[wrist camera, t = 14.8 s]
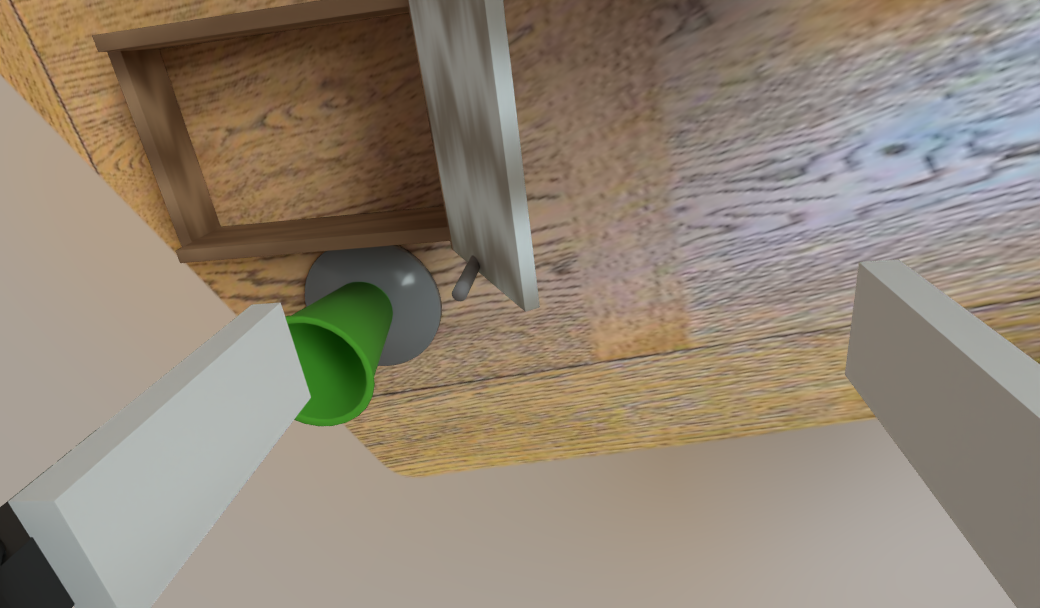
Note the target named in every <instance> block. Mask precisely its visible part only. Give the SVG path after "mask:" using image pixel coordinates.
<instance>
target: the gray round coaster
mask: <svg viewBox="0 0 1040 608" xmlns="http://www.w3.org/2000/svg"><path fill="white" fill-rule="evenodd" d="M351 282H367V283H370V284H373V285H375V286H377V287H378V288H380V289H381V290H382V291H383V292H384V293H385V294H386V295H387V296H388V298H389V300H390V302H391V305H392V308H393V318H392V323H391V326H390V329H389V332H388V335H387V338H386V341H385V344H384V347H383V350H382V354H381V357H380V360H379V363H378V366H389V365H396V364H401V363H404V362H407V361H409V360H411V359H413V358H415V357H417V356H418V355H419V354H421V353H422V352H423V351H424V350H425V349H426V348H427V347H428V346H429V344H430V343H431V342H432V340H433V338H434V336H435V334H436V332H437V330H438V328H439V325H440V321H441V315H442V304H441V297H440V293H439V290H438V287H437V285H436V282H435V280H434V279H433V277H432V275H431V274H430V272H429V271H428V269H427V268H426V267H425V266H424V265H423V264H422V262H421V261H420V260H419V259H418V258H416V257H415V256H414V255H413V254H412V253H410V252H409V251H407V250H406V249H404V248H402V247H400V246H398V245H391V246H379V247H367V248H355V249H343V250H331V251H325V252H324V253H323V254H322V255H321V256H320V257H319V258H318V259H317V260H316V261H315V263H314V264H313V265H312V267H311V269H310V271H309V273H308V276H307V279H306V284H305V303H306V307H307V306H309V305H311V304H312V303H314V302H316V301H318V300H319V299H321V298H323V297H325V296H326V295H328V294H330V293H332V292H333V291H335V290H337V289H339V288H340V287H342V286H344V285H346V284H348V283H351Z"/></svg>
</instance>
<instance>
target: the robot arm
mask: <svg viewBox="0 0 1040 608" xmlns="http://www.w3.org/2000/svg"><path fill="white" fill-rule="evenodd" d="M845 375H846V377H847V378H848V379H849V381H850V382H851V383H852V385H853V386H854V388H855V389H856V390H857V392H858V393H859V394H860V396H861V397H862V398H863V400H864V401H865V402H866V404H867V405H868V406H869V408H870V409H871V411H872V412H873V413H874V415H875V416H876V417H877V419H878V420H879V421H880V423H881V424H882V425H883V427H884V428H885V429H886V431H887V432H888V433H889V435H890V436H891V438H892V439H893V440H894V442H895V443H896V444H897V446H898V447H899V448H900V450H901V451H902V452H903V454H904V455H905V457H906V458H907V459H908V461H909V462H910V463H911V465H912V466H913V467H914V469H915V470H916V472H917V473H918V474H919V476H920V477H921V478H922V479H923V481H924V482H925V484H926V485H927V486H928V488H929V489H930V491H931V492H932V493H933V494H934V496H935V497H936V499H937V500H938V501H939V503H940V504H941V505H942V507H943V508H944V509H945V511H946V512H947V513H948V515H949V516H950V518H951V519H952V520H953V522H954V523H955V524H956V526H957V527H958V528H959V530H960V531H961V533H962V534H963V535H964V537H965V538H966V539H967V541H968V542H969V543H970V545H971V546H972V547H973V549H974V550H975V551H976V553H977V554H978V556H979V557H980V558H981V560H982V561H983V562H984V564H985V565H986V566H987V568H988V569H989V570H990V572H991V573H992V575H993V576H994V577H995V579H996V580H997V581H998V583H999V584H1000V585H1001V586H1002V588H1003V589H1004V591H1005V592H1006V593H1007V595H1008V596H1009V598H1010V599H1011V600H1012V602H1013V603H1014V604H1015V606H1016V607H1017V608H1040V364H1039V363H1037V362H1036V361H1035V360H1033V359H1032V358H1030V357H1029V356H1028V355H1026V354H1025V353H1024V352H1022V351H1021V350H1020V349H1018V348H1017V347H1016V346H1014V345H1013V344H1012V343H1010V342H1009V341H1008V340H1006V339H1005V338H1004V337H1002V336H1001V335H1000V334H998V333H997V332H996V331H994V330H993V329H992V328H990V327H989V326H987V325H986V324H985V323H983V322H982V321H981V320H979V319H978V318H977V317H975V316H974V315H973V314H971V313H970V312H969V311H967V310H966V309H965V308H963V307H962V306H961V305H959V304H958V303H957V302H955V301H954V300H953V299H951V298H950V297H949V296H947V295H946V294H944V293H943V292H942V291H940V290H939V289H938V288H936V287H935V286H934V285H932V284H931V283H930V282H928V281H927V280H926V279H924V278H923V277H922V276H920V275H919V274H918V273H916V272H915V271H914V270H912V269H911V268H910V267H908V266H907V265H906V264H904V263H903V262H901V261H900V260H885V261H870V262H859V268H858V275H857V283H856V291H855V299H854V307H853V315H852V323H851V331H850V338H849V346H848V354H847V362H846V370H845ZM310 398H311V396H310V393H309V389H308V386H307V383H306V380H305V377H304V374H303V371H302V368H301V365H300V362H299V358H298V355H297V352H296V349H295V346H294V343H293V340H292V337H291V334H290V330H289V327H288V324H287V321H286V318H285V315H284V312H283V309H282V306H281V303H268V304H254V305H251V306H249V307H248V308H247V309H246V310H244V311H243V312H242V313H241V314H240V315H238V316H237V317H236V318H235V319H233V320H232V321H231V322H230V323H229V324H227V325H226V326H225V327H223V328H222V329H221V330H220V331H219V332H217V333H216V334H215V335H214V336H212V337H211V338H210V339H209V340H207V341H206V342H205V343H204V344H203V345H201V346H200V347H199V348H197V349H196V350H195V351H194V352H193V353H191V354H190V355H189V356H188V357H186V358H185V359H184V360H183V361H181V362H180V363H179V364H178V365H176V366H175V367H174V368H173V369H171V370H170V371H169V372H168V373H167V374H165V375H164V376H163V377H162V378H160V379H159V380H158V381H157V382H156V383H154V384H153V385H152V386H151V387H150V388H148V389H147V390H146V391H144V392H143V393H142V394H141V395H139V396H138V397H137V398H136V399H134V400H133V401H132V402H131V403H130V404H128V405H127V406H126V407H124V408H123V409H122V410H121V411H120V412H118V413H117V414H116V415H115V416H113V417H112V418H111V419H110V420H108V421H107V422H106V423H105V424H103V425H102V426H101V427H99V428H98V429H97V430H95V431H94V432H93V433H92V434H90V435H89V436H88V437H87V438H86V439H84V440H83V441H82V442H81V443H79V444H78V445H77V446H76V447H75V448H74V449H73V450H71V451H69V452H68V453H67V454H66V455H64V456H63V457H62V458H61V459H59V460H58V461H57V462H56V463H55V464H54V465H52V466H51V467H50V468H48V469H47V470H46V471H45V472H43V473H42V474H41V475H40V476H38V477H37V478H36V479H35V480H34V481H32V482H31V483H30V484H29V485H27V486H26V487H25V488H24V489H22V490H21V491H20V492H19V493H17V494H16V495H15V496H14V497H13V498H11V499H10V500H9V501H8V502H6V503H5V504H4V505H2V506H1V507H0V608H72V607H73V606H74V607H75V608H151V606H152V605H153V604H154V602H155V601H156V600H157V599H158V597H159V596H160V595H161V593H162V592H163V591H164V589H165V588H166V587H167V585H168V584H169V583H170V582H171V580H172V579H173V578H174V576H175V575H176V574H177V572H178V571H179V570H180V568H181V567H182V566H183V564H184V563H185V562H186V561H187V559H188V558H189V557H190V555H191V554H192V553H193V551H194V550H195V549H196V547H197V546H198V544H200V542H201V541H202V540H203V538H204V537H205V536H206V534H207V533H208V532H209V530H210V529H211V528H212V526H213V525H214V524H215V523H216V521H217V520H218V519H219V517H220V516H221V515H222V513H223V512H224V511H225V509H226V508H227V507H228V506H229V504H230V503H231V502H232V500H233V499H234V498H235V496H236V495H237V494H238V492H239V491H240V489H241V488H242V487H243V486H244V485H245V483H246V482H247V481H248V479H249V478H250V477H251V475H252V474H253V473H254V471H255V470H256V469H257V467H258V466H259V465H260V463H261V462H262V461H263V460H264V458H265V457H266V456H267V454H268V453H269V452H270V450H271V449H272V448H273V447H274V445H275V444H276V443H277V441H278V440H279V439H280V437H281V436H282V435H283V433H284V432H285V431H286V429H287V428H288V427H289V425H290V424H291V423H292V422H293V420H294V419H295V418H296V416H297V415H298V414H299V412H300V411H301V410H302V409H303V407H304V406H305V405H306V403H307V402H308V401H309V399H310Z"/></svg>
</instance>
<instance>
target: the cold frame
mask: <svg viewBox="0 0 1040 608" xmlns="http://www.w3.org/2000/svg"><path fill="white" fill-rule="evenodd" d="M404 13H409V14H410V20H411V26H412V31H413V37H414V42H415V48H416V53H417V59H418V64H419V70H420V75H421V81H422V87H423V92H424V98H425V103H426V109H427V114H428V120H429V125H430V131H431V137H432V142H433V148H434V153H435V159H436V164H437V170H438V175H439V181H440V186H441V192H442V198H443V203H444V206H440V207H429V208H419V209H408V210H397V211H386V212H375V213H365V214H354V215H343V216H332V217H321V218H311V219H300V220H289V221H278V222H268V223H257V224H246V225H235V226H224V227H221V226H220V223H219V221H218V218H217V215H216V212H215V209H214V206H213V203H212V200H211V198H210V195H209V192H208V189H207V186H206V183H205V180H204V177H203V175H202V172H201V169H200V166H199V163H198V160H197V157H196V154H195V152H194V149H193V146H192V143H191V140H190V137H189V134H188V131H187V129H186V126H185V123H184V120H183V117H182V114H181V111H180V108H179V106H178V103H177V100H176V97H175V94H174V91H173V88H172V86H171V83H170V80H169V77H168V74H167V71H166V68H165V65H164V63H163V60H162V57H161V54H160V51H159V49H164V48H171V47H178V46H185V45H192V44H199V43H206V42H212V41H219V40H226V39H233V38H240V37H247V36H254V35H260V34H267V33H274V32H281V31H288V30H295V29H302V28H308V27H315V26H322V25H329V24H336V23H343V22H350V21H356V20H363V19H370V18H377V17H384V16H391V15H397V14H404ZM92 37H93V40H94V42H95V45H96V47H97V50H98V52H108V55H109V58H110V60H111V63H112V66H113V68H114V71H115V73H116V76H117V79H118V81H119V84H120V86H121V89H122V92H123V94H124V97H125V100H126V102H127V105H128V107H129V110H130V113H131V115H132V118H133V120H134V123H135V126H136V128H137V131H138V134H139V136H140V139H141V141H142V144H143V147H144V149H145V152H146V154H147V157H148V160H149V162H150V165H151V168H152V170H153V173H154V175H155V178H156V181H157V183H158V186H159V189H160V191H161V194H162V196H163V199H164V202H165V204H166V207H167V209H168V212H169V215H170V217H171V220H172V223H173V225H174V228H175V230H176V233H177V236H178V238H179V241H180V243H181V246H182V248H180V249H178V250H176V253H177V256H178V259H179V261H180V263H187V262H199V261H211V260H223V259H235V258H247V257H259V256H271V255H283V254H295V253H307V252H319V251H331V250H343V249H355V248H367V247H379V246H391V245H403V244H415V243H427V242H439V241H450V242H451V248H452V249H453V250H454V251H455V252H456V253H457V254H458V255H459V256H461V257H462V258H463V259H464V260H465V261H467V262H468V263H467V265H466V267H465V269H464V270H463V272H462V274H461V276H460V278H459V280H458V282H457V284H456V285H455V287H454V289H453V291H452V296H453V298H454V299H455V300H457V301H463V300H465V299H466V297H467V295H468V293H469V290H470V288H471V286H472V284H473V282H474V280H475V278H476V275H477V273H478V272H479V273H481V274H482V275H483V276H484V277H485V278H486V279H488V280H489V281H490V282H491V283H492V284H494V285H495V286H496V287H497V288H498V289H499V290H501V291H502V292H503V293H504V294H505V295H506V296H508V297H509V298H510V299H511V300H512V301H513V302H515V303H516V304H517V305H518V306H519V307H520V308H522V309H523V310H524V311H525V312H526V311H529V310H532V309H536V308H539V307H540V306H539V297H538V289H537V281H536V272H535V264H534V256H533V247H532V239H531V230H530V222H529V214H528V205H527V197H526V189H525V180H524V172H523V163H522V155H521V147H520V138H519V130H518V122H517V113H516V105H515V96H514V88H513V80H512V71H511V63H510V55H509V46H508V38H507V29H506V21H505V13H504V4H503V0H320V1H314V2H307V3H301V4H294V5H288V6H281V7H275V8H268V9H262V10H255V11H249V12H242V13H235V14H229V15H222V16H216V17H209V18H203V19H196V20H190V21H183V22H177V23H170V24H164V25H157V26H150V27H144V28H137V29H131V30H124V31H118V32H111V33H105V34H98V35H92Z"/></svg>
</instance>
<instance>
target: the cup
mask: <svg viewBox="0 0 1040 608" xmlns="http://www.w3.org/2000/svg"><path fill="white" fill-rule="evenodd" d="M285 318H286V321H287V324H288V327H289V330H290V334H291V337H292V340H293V343H294V346H295V349H296V352H297V355H298V358H299V362H300V365H301V368H302V371H303V374H304V377H305V380H306V383H307V386H308V389H309V393H310V396H311V398H310V399H309V401H308V402H307V403H306V405H305V406H304V407H303V409H302V410H301V411H300V412H299V414H298V415H297V416H296V418H295V419H294V420H296V421H299V422H302V423H304V424H310V425H315V426H334V425H338V424H342V423H346V422H348V421H350V420H352V419H354V418H355V417H357V416H359V415H360V414H361V413H362V412H363V411H364V410H365V409H366V408H367V406H368V404H369V402H370V400H371V398H372V396H373V391H374V385H375V383H374V375H375V372H376V369H377V366H378V363H379V360H380V357H381V354H382V350H383V347H384V344H385V341H386V338H387V335H388V332H389V329H390V326H391V323H392V318H393V308H392V305H391V302H390V300H389V298H388V296H387V295H386V294H385V293H384V292H383V291H382V290H381V289H380V288H378V287H377V286H375V285H373V284H370V283H367V282H351V283H348V284H346V285H344V286H342V287H340V288H339V289H337V290H335V291H333V292H332V293H330V294H328V295H326V296H325V297H323V298H321V299H319V300H318V301H316V302H314V303H312V304H311V305H309V306H307V307H305V308H304V309H302V310H300V311H298V312H297V313H295V314H293V315H291V316H285Z"/></svg>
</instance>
